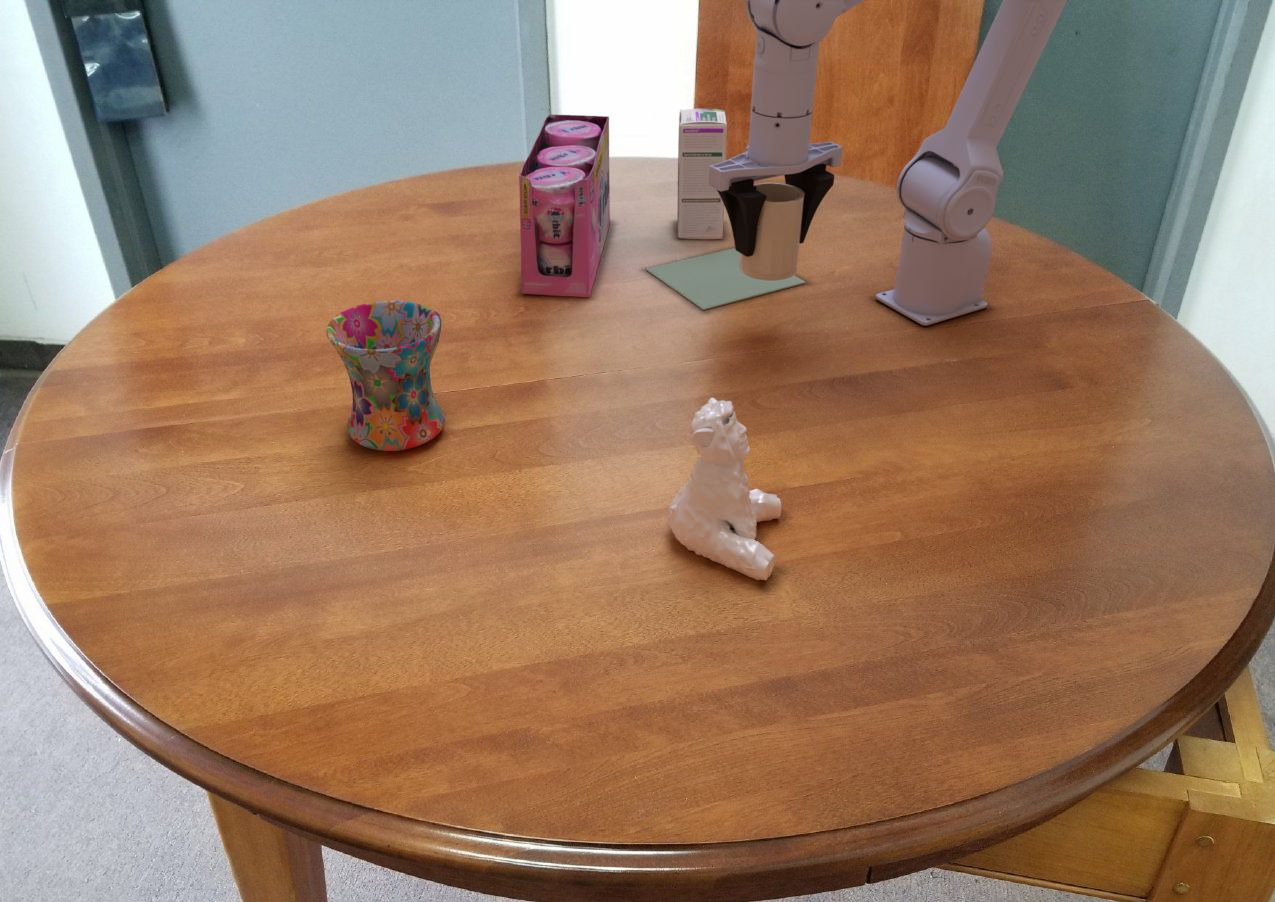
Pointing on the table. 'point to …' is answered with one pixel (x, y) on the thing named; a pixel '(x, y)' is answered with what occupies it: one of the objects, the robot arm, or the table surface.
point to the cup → (776, 233)
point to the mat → (716, 280)
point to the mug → (389, 372)
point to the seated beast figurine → (723, 496)
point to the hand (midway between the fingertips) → (770, 246)
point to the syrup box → (700, 173)
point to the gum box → (565, 205)
